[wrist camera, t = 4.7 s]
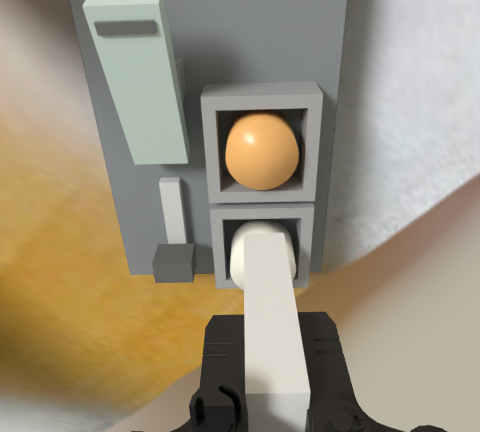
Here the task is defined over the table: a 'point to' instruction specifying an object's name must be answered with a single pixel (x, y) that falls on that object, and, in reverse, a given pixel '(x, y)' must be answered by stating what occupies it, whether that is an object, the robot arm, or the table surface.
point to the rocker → (141, 76)
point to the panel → (217, 126)
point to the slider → (174, 263)
